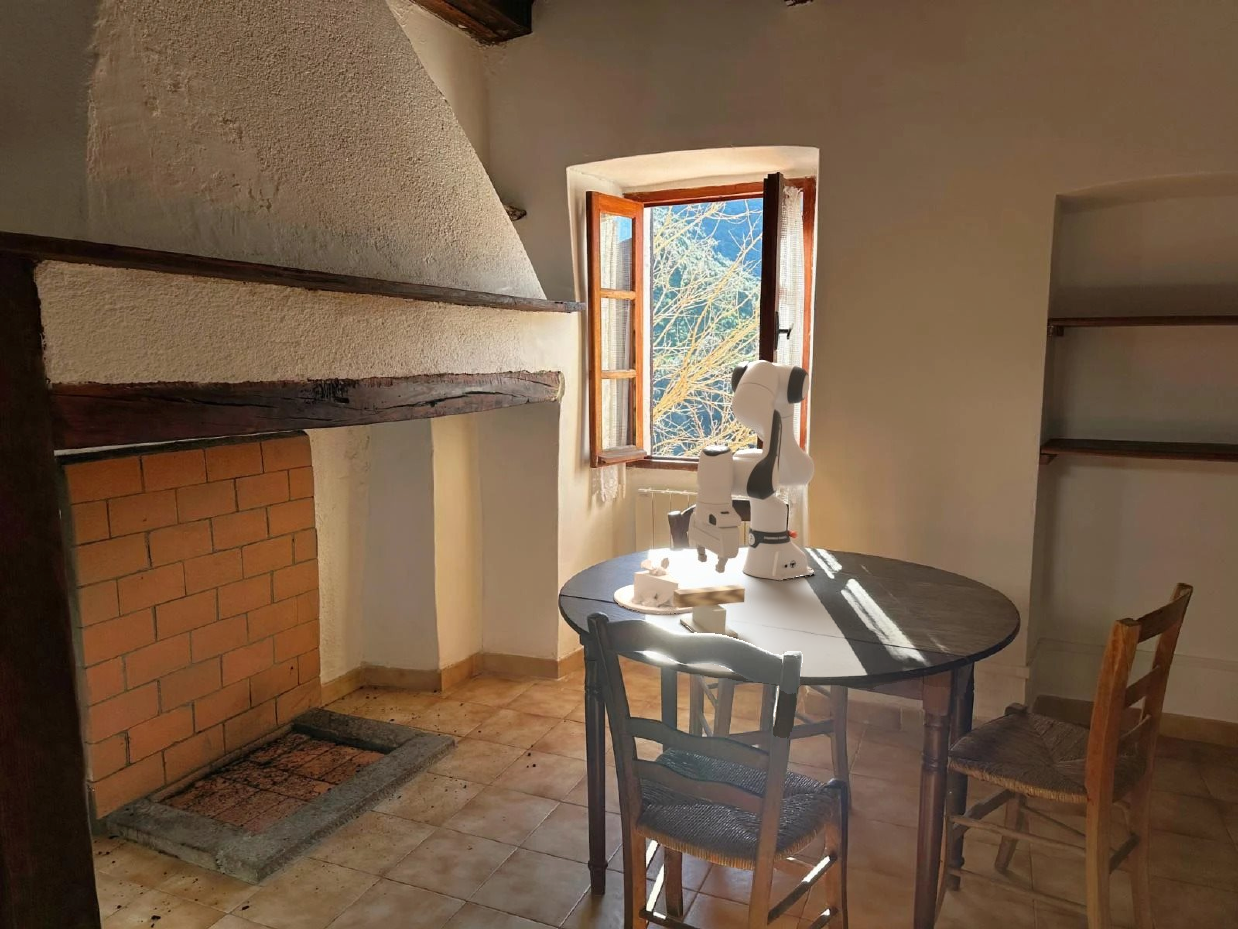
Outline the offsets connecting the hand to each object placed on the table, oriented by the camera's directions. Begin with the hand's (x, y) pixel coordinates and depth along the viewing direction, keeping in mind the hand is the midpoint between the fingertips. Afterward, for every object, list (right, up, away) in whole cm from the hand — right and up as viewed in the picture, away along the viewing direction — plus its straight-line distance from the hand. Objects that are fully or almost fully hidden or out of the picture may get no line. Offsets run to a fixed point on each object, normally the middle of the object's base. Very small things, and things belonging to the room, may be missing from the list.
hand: (710, 566), depth 204 cm
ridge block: (0, -16, +2) cm, 16 cm away
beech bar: (0, -9, +1) cm, 9 cm away
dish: (-12, -13, +25) cm, 31 cm away
